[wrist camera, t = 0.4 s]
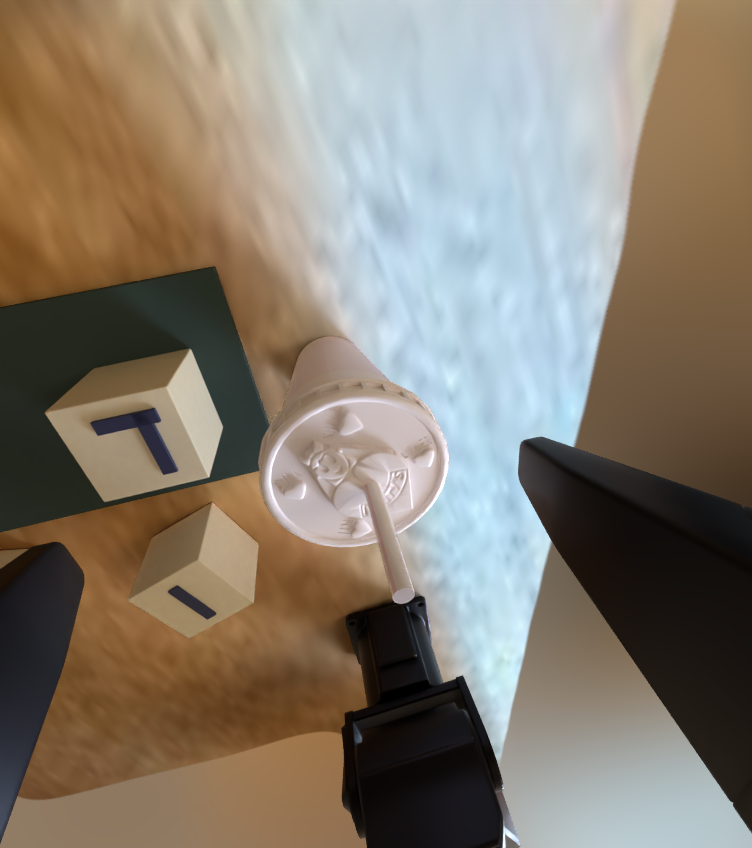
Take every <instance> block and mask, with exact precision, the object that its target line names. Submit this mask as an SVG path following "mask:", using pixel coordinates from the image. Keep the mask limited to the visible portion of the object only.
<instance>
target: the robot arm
mask: <svg viewBox="0 0 752 848" xmlns="http://www.w3.org/2000/svg"><path fill="white" fill-rule="evenodd" d="M518 476H519V480H520V483H521V485H522V487H523V489H524V491H525V493H526V494H527V496H528V498H529V500H530V502H531V504H532V506H533V507H534V509H535V511H536V513H537V515H538V517H539V519H540V520H541V522H542V524H543V526H544V528H545V530H546V532H547V533H548V535H549V537H550V539H551V540H552V542H553V544H554V545H555V547H556V549H557V550H558V552H559V553H560V555H561V556H562V558H563V559H564V560H565V562H566V563H567V565H568V566H569V568H570V569H571V571H572V572H573V573H574V575H575V576H576V578H577V579H578V581H579V582H580V584H581V585H582V586H583V588H584V590H585V591H586V592H587V594H588V595H589V597H590V598H591V600H592V601H593V603H594V604H595V605H596V607H597V608H598V610H599V611H600V613H601V614H602V616H603V617H604V618H605V620H606V621H607V623H608V624H609V626H610V627H611V629H612V630H613V632H614V633H615V635H616V636H617V638H618V639H619V640H620V642H621V643H622V645H623V646H624V648H625V649H626V651H627V652H628V653H629V655H630V656H631V658H632V659H633V661H634V662H635V664H636V665H637V667H638V668H639V669H640V671H641V672H642V674H643V675H644V677H645V678H646V679H647V681H648V683H649V684H650V685H651V687H652V688H653V689H654V691H655V693H656V694H657V696H658V697H659V699H660V700H661V701H662V703H663V704H664V706H665V707H666V708H667V710H668V712H669V713H670V714H671V716H672V717H673V719H674V720H675V722H676V723H677V725H678V726H679V728H680V729H681V730H682V732H683V733H684V735H685V736H686V738H687V739H688V741H689V742H690V744H691V745H692V746H693V748H694V749H695V751H696V752H697V754H698V755H699V757H700V758H701V760H702V761H703V762H704V764H705V765H706V767H707V768H708V770H709V771H710V773H711V774H712V775H713V777H714V778H715V780H716V781H717V783H718V784H719V785H720V787H721V789H722V790H723V791H724V793H725V794H726V796H727V797H728V799H729V800H730V801H731V802H734V803H733V806H734V808H735V810H736V811H737V812H738V814H739V815H740V817H741V818H742V820H743V821H744V823H745V824H746V825H747V827H748V828H749V830H750V831H751V833H752V508H750V507H746V506H745V507H742V506H741V505H740V504H738V503H735V502H732V501H729V500H726V499H723V498H720V497H717V496H715V495H712V494H709V493H705V492H703V491H700V490H697V489H694V488H691V487H688V486H685V485H682V484H679V483H676V482H673V481H670V480H668V479H665V478H662V477H659V476H656V475H653V474H650V473H647V472H644V471H641V470H638V469H635V468H632V467H629V466H626V465H623V464H620V463H617V462H615V461H612V460H609V459H606V458H603V457H600V456H597V455H594V454H591V453H588V452H585V451H582V450H580V449H577V448H574V447H571V446H568V445H565V444H562V443H559V442H556V441H553V440H550V439H547V438H544V437H536V438H531V439H527V440H524V441H522V442H521V445H520V451H519V466H518ZM83 587H84V574H83V571H82V569H81V568H80V566H79V565H78V564H77V562H76V561H75V559H74V558H73V557H72V555H71V554H70V552H69V551H68V550H67V548H66V547H65V546H64V545H63V544H61V543H59V542H51V543H47V544H42V545H38V546H34V547H32V548H30V549H28V550H27V551H25V552H24V553H22V554H21V555H19V556H18V557H17V558H15V559H14V560H12V561H11V562H9V563H8V564H7V565H5V566H4V567H2V568H1V569H0V843H1V840H2V837H3V835H4V831H5V829H6V826H7V823H8V821H9V818H10V815H11V812H12V809H13V807H14V804H15V801H16V798H17V795H18V793H19V790H20V787H21V784H22V782H23V779H24V776H25V773H26V770H27V768H28V765H29V762H30V759H31V756H32V754H33V751H34V748H35V745H36V742H37V740H38V737H39V734H40V731H41V728H42V726H43V723H44V720H45V717H46V715H47V712H48V709H49V706H50V703H51V701H52V698H53V695H54V692H55V689H56V687H57V684H58V681H59V678H60V675H61V672H62V669H63V666H64V662H65V659H66V655H67V652H68V648H69V644H70V639H71V635H72V631H73V627H74V623H75V619H76V615H77V611H78V607H79V603H80V599H81V595H82V591H83ZM346 625H347V629H348V632H349V635H350V638H351V641H352V644H353V647H354V650H355V653H356V657H357V660H358V663H359V664H360V665H361V668H362V675H363V681H364V687H365V694H366V700H367V706H368V707H367V708H364V709H361V710H358V711H354V712H353V711H349V712H346V713H345V725H344V726H343V727H342V728H341V729H342V738H343V749H344V768H343V785H342V802H343V806H344V808H345V809H347V810H348V811H349V812H350V813H351V815H352V819H353V821H354V823H355V827H356V830H357V833H358V835H359V837H360V838H361V839H362V838H365V837H366V844H367V848H506V843H505V829H504V818H503V813H502V810H501V807H500V804H499V801H498V798H497V795H496V793H497V792H500V791H503V790H504V786H503V781H502V777H501V774H500V770H499V767H498V764H497V760H496V757H495V754H494V751H493V749H492V746H491V743H490V740H489V738H488V735H487V732H486V730H485V727H484V725H483V722H482V720H481V718H480V715H479V713H478V710H477V708H476V706H475V703H474V701H473V698H472V696H471V694H470V691H469V689H468V686H467V684H466V681H465V679H464V677H463V675H462V676H459V677H456V679H454V680H451V681H448V682H445V683H443V680H442V677H441V674H440V670H439V667H438V664H437V661H436V658H435V655H434V652H433V649H432V646H431V644H432V638H431V631H430V624H429V617H428V610H427V603H426V600H425V598H424V597H423V596H418V597H414V598H413V599H412V600H410V601H409V602H407V603H402V604H400V603H392V604H389V605H385V606H381V607H378V608H374V609H370V610H367V611H363V612H359V613H356V614H352V615H349V616H348V617H347V618H346Z"/></svg>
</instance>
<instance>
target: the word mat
mask: <svg viewBox="0 0 752 848" xmlns="http://www.w3.org/2000/svg"><path fill="white" fill-rule="evenodd" d="M185 349H191V351H192V353H193V355H194V358H195V360H196V363H197V365H198V368H199V370H200V372H201V375H202V377H203V380H204V382H205V385H206V387H207V389H208V392H209V394H210V397H211V399H212V402H213V404H214V406H215V409H216V411H217V414H218V416H219V418H220V421H221V423H222V426H223V429H222V433H221V436H220V440H219V444H218V447H217V451H216V455H215V458H214V462H213V465H212V469H211V473H210V476H209V477H208V478H205V479H200V480H196V481H192V482H188V483H183V484H179V485H175V486H171V487H167V488H162V489H158V490H154V491H150V492H145V493H141V494H137V495H133V496H129V497H124V498H120V499H116V500H112V501H107V502H104V501H103V500H102V498H101V497H100V495H99V494H98V492H97V491H96V489H95V488H94V486H93V485H92V483H91V482H90V480H89V479H88V477H87V476H86V474H85V473H84V471H83V470H82V468H81V467H80V465H79V464H78V462H77V461H76V459H75V458H74V456H73V455H72V453H71V452H70V450H69V449H68V447H67V446H66V444H65V443H64V441H63V440H62V438H61V437H60V435H59V434H58V432H57V431H56V429H55V428H54V426H53V425H52V423H51V422H50V420H49V419H48V417H47V416H46V414H45V412H46V411H47V410H48V409H49V408H50V407H51V406H52V405H53V404H55V403H56V402H57V401H58V400H59V399H60V398H61V397H62V396H64V395H65V394H66V393H67V392H68V391H69V390H70V389H71V388H73V387H74V386H75V385H76V384H77V383H78V382H79V381H80V380H81V379H83V378H84V377H85V376H86V375H87V374H88V373H89V372H90V371H92V370H93V369H94V368H98V367H103V366H108V365H113V364H117V363H122V362H127V361H132V360H137V359H141V358H146V357H151V356H156V355H161V354H165V353H170V352H175V351H180V350H185ZM268 428H269V423H268V420H267V417H266V414H265V411H264V408H263V405H262V402H261V399H260V397H259V394H258V391H257V388H256V385H255V382H254V379H253V376H252V373H251V370H250V367H249V364H248V361H247V358H246V356H245V353H244V350H243V347H242V344H241V341H240V338H239V335H238V332H237V329H236V326H235V323H234V320H233V317H232V315H231V312H230V309H229V306H228V303H227V300H226V297H225V294H224V291H223V288H222V285H221V282H220V279H219V276H218V273H217V271H216V268H215V267H208V268H203V269H198V270H193V271H187V272H182V273H177V274H172V275H167V276H161V277H156V278H151V279H146V280H141V281H135V282H130V283H125V284H120V285H114V286H109V287H104V288H99V289H94V290H88V291H83V292H78V293H73V294H67V295H62V296H57V297H52V298H47V299H41V300H36V301H31V302H26V303H21V304H15V305H10V306H5V307H0V532H3V531H8V530H12V529H16V528H20V527H24V526H29V525H33V524H37V523H41V522H45V521H50V520H54V519H58V518H62V517H66V516H71V515H75V514H79V513H83V512H87V511H92V510H96V509H100V508H104V507H108V506H113V505H117V504H121V503H125V502H130V501H134V500H138V499H142V498H146V497H151V496H155V495H159V494H163V493H167V492H172V491H176V490H180V489H184V488H188V487H193V486H197V485H201V484H205V483H209V482H214V481H218V480H222V479H226V478H230V477H235V476H239V475H243V474H247V473H251V472H256V471H259V464H258V460H259V454H260V449H261V443H262V439H263V437H264V435H265V433H266V432H267V430H268Z"/></svg>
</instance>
